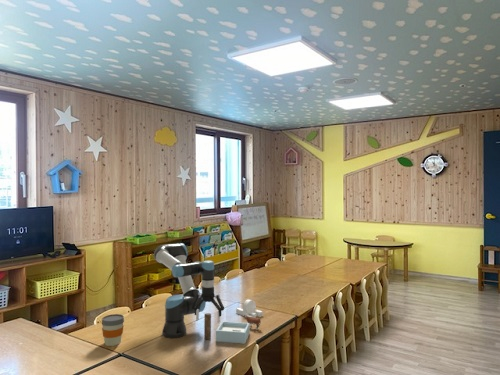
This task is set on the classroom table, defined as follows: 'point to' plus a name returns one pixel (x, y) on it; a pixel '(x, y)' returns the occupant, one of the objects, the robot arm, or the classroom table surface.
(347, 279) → the classroom table surface
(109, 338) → the reusable coffee cup
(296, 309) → the classroom table surface
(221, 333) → the blue box
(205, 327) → the walnut peg
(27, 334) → the classroom table surface
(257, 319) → the bull figurine
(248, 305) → the white rounded shape
